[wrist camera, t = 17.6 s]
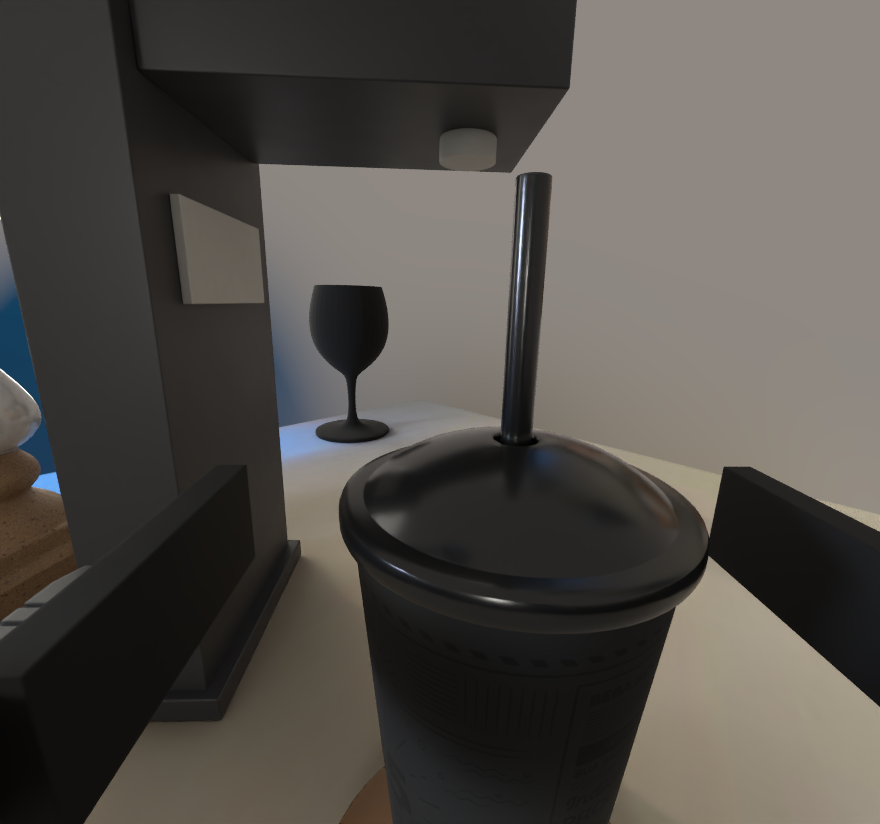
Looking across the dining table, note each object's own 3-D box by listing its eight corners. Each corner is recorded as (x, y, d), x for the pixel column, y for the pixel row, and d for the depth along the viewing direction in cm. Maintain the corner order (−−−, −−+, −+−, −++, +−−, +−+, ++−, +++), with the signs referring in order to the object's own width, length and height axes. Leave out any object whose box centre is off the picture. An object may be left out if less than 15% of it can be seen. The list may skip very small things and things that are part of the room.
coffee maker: (82, 723, 19) (-115, -97, 12) (218, 554, 31) (164, 109, 24) (526, 714, 20) (597, -55, 13) (486, 553, 32) (509, 123, 25)
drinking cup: (481, 730, 18) (510, 226, 13) (667, 924, 13) (840, 177, 8) (311, 880, 13) (256, 177, 8) (489, 1300, 8) (643, -55, 3)
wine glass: (353, 448, 54) (348, 284, 49) (299, 433, 60) (289, 284, 55) (403, 429, 63) (404, 287, 58) (352, 417, 68) (348, 287, 63)
